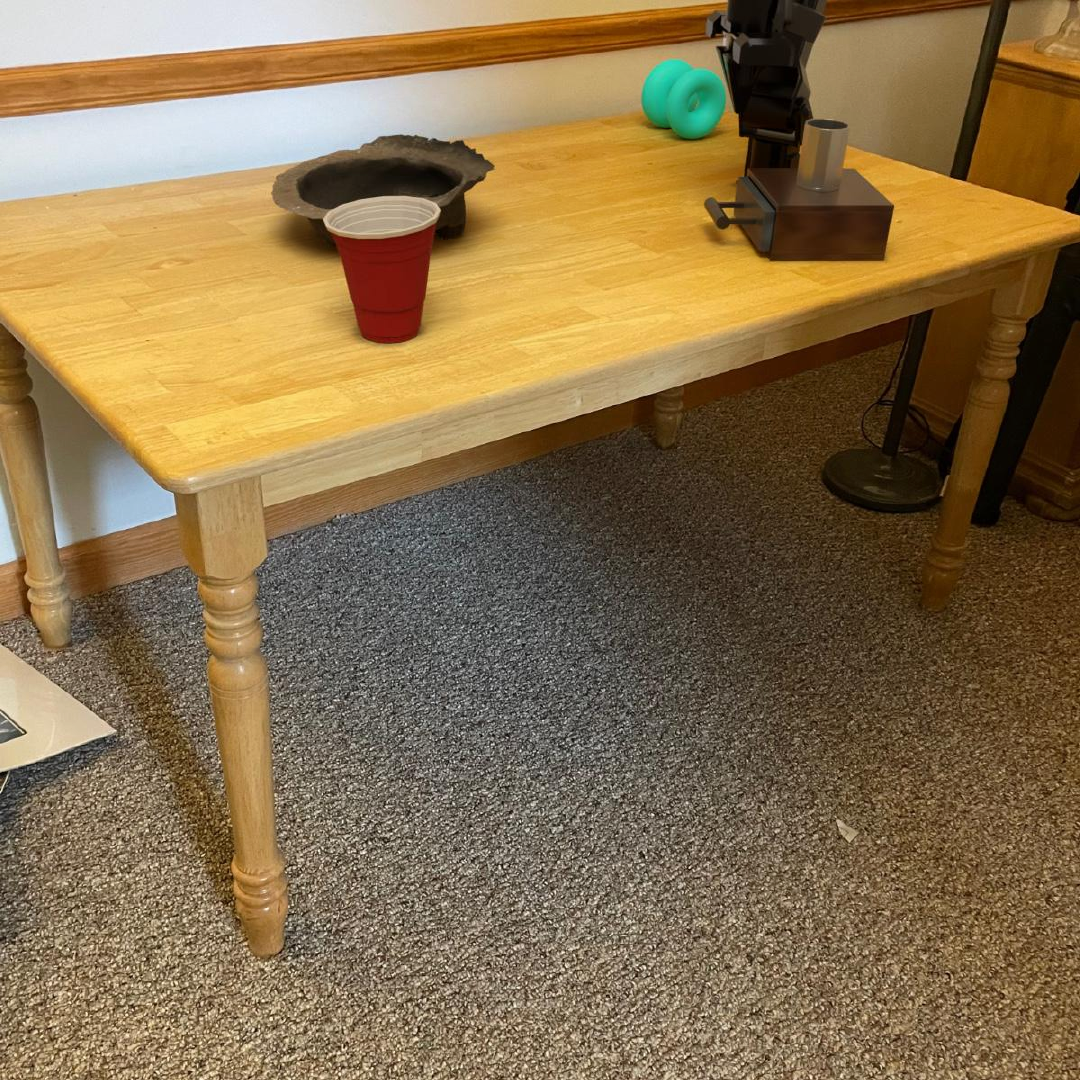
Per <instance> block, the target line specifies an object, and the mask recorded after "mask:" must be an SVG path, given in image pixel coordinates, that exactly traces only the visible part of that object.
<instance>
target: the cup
mask: <svg viewBox="0 0 1080 1080" xmlns="http://www.w3.org/2000/svg"><path fill="white" fill-rule="evenodd" d="M850 128H851V124H850V123H848V122H845V121H843V120H838V119H832V118H824V117H823V118H813V119H810V120H807V121H806V122H805V127H804V133H803V140H802V146H800V153H799V154H800V160H799V167H798V173H797V180H796V185H797V186H798V187H800V188H802V189H805V190H809V191H815V192H832V191H836V190H838V189H839V188H840V182H841V176H842V170H843V169H844V164H845V158H846V153H847V147H848V140H849V134H850Z"/></svg>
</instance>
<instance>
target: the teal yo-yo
mask: <svg viewBox="0 0 1080 1080" xmlns="http://www.w3.org/2000/svg"><path fill="white" fill-rule="evenodd" d="M640 95H641V96H640V97H641V101H640V102H641V108H642V111H643V114H644V115H645V117H646V118H647V120H648V121H649V122H651V123H652V124H653V125H655V126H657V127H659V128H665V129H668V128H669V129H670V128H671V129H672V131H673V132H674V133H675V134H677V136H679V137H681V138H683V139H688V140H697V139H700V138H703V137H705V136H707V135H709V134H710V133H711V132H712V131H713V130H714V129H715V128H716V127H717V126H718V125H719V123H720V122H721V119H722V118H723V115H724V113H725V110H726V105H727V92H726V88H725V85H724V82H723V81H722V79H721V78H720V77H719V75H717V73H715V72H713V71H712V70H711V69H707V68H694V67H693V66H692V65H691V64H690V63H689V62H686V61H685V60H682V59H679V58H669V59H666V60H664V61H662V62H660V63H658V64H657V65H655V66H654V67H653V68H652V69H651V70H650V72H649V73H648V74H647V76H646V78H645V80H644V82H643V85H642V89H641V94H640Z"/></svg>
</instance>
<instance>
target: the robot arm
mask: <svg viewBox="0 0 1080 1080" xmlns="http://www.w3.org/2000/svg"><path fill="white" fill-rule="evenodd" d="M827 3H828V0H727V4H726V9H715V10H714V11H713V12H711V13H710V15H708V17H706V25H705V35H706V36H707V37H708V38H709V39H715V38H716V35H723V41H722V45H716V46H715V51H716V53H717V55H718V59H719V63H720V66H721V69H722V74H723V76H724V81H725V83H726V87H727V91H728V94H729V98H730V101H731V106H732V109H733V112H734V113H735V114H736V115H738V116H737V117H738V118H737V119H738V137H739V138H748V139H747V148H746V156H745V163H744V171H743V177H747V169H748V168H798V167H799V160H800V153H801V147H802V140H803V133H804V127H805V122H806V121H807V120H810V119H814V114H813V111H812V107H811V103H810V97H811V87H810V83H809V78H808V75H807V70H806V68H807V65H808V62H809V59H810V56H811V54H812V53H811V52H812V51H813V46H814V44H815V42H816V41H817V38H818V36H819V34H820V32H821V30H822V28H823V26H824V24H825V22H826V20H827V18H828V17H827V16H826V15H824V12H825V8H826V6H827ZM735 184H736V185H737V180H736V182H735Z"/></svg>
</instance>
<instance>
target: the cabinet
mask: <svg viewBox="0 0 1080 1080" xmlns="http://www.w3.org/2000/svg"><path fill="white" fill-rule="evenodd" d="M797 173H798V168H748V169H747V177H748V178H749V179H750V181H751V182H752V183H753V184H754V186H755V187H756V188H757V187H758V188H759V189H760V190H761V192H762V193H763V194H764V195H765V196H766V198H767V199H768V200H769V201H770V203H771V204H772V205H773V206H774V208H775V209H776V213H775V220H774V227H773V234H772V239H771V246H770V252H764V254H765V255H766V257H767V258H768V259H769V261H770V262H771V261H772V262H775V261H777V262H779V261H783V262H786V261H787V262H789V261H790V262H791V261H797V262H798V261H801V262H803V261H806V262H807V261H809V262H810V261H811V262H813V261H814V262H815V261H884V260H885V256H886V250H887V245H888V239H889V235H890V230H891V225H892V220H893V215H894V211H895V210H894V209H895V204H893V202H891V201H890V200H889V198H888V197H886V196H885V195H884V194H883V193H882V192H880V191H879V190H878V189H877V188H876V187H875V186H874V185H873V184H872V183H871V182H870V181H868V180H867V179H866V177H864V176H863V175H862V174H861V172H859V171H858V170H857V169H856V168H843V170H842V176H841V182H840V188H839V189H838V190H836V191H832V192H815V191H809V190H805V189H802V188H800V187H798V186H797V185H796V180H797Z"/></svg>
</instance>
